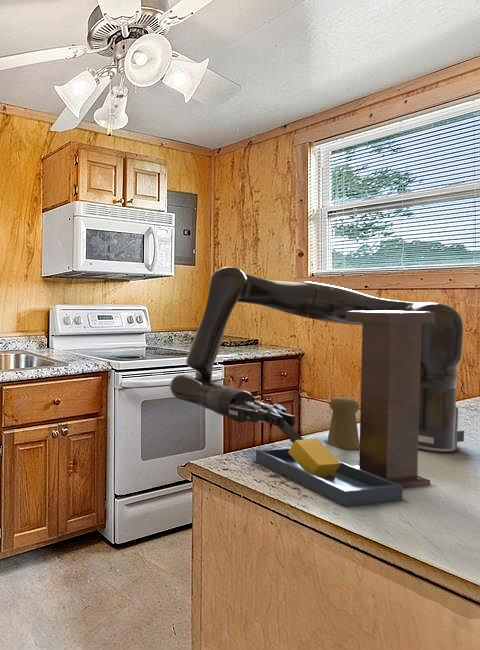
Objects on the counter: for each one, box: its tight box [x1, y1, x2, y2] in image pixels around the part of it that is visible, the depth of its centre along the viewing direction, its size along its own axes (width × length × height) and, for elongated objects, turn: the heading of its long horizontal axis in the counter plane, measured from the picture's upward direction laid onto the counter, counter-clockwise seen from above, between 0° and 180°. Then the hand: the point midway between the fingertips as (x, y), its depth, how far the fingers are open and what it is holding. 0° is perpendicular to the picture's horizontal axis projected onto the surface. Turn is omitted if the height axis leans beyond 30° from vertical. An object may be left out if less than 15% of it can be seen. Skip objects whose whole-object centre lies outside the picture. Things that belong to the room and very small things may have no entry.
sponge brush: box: [267, 408, 341, 477], centre depth 87 cm, size 5×16×4 cm
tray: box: [255, 446, 404, 507], centre depth 81 cm, size 12×20×2 cm, turn 10°
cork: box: [326, 396, 360, 450], centre depth 100 cm, size 6×6×11 cm
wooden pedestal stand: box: [346, 311, 435, 489], centre depth 81 cm, size 10×8×32 cm
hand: (287, 421), depth 89 cm, fingers closed on sponge brush, 2 cm apart
